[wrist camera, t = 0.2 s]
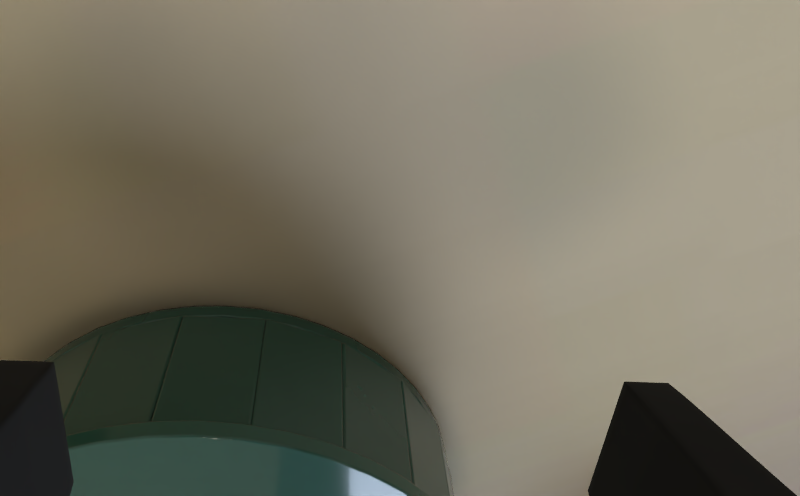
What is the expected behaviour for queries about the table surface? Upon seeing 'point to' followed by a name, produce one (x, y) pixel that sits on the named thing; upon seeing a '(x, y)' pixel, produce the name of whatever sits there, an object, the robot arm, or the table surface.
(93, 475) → the pot lid
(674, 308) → the table surface
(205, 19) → the table surface
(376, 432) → the pot
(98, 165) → the table surface
